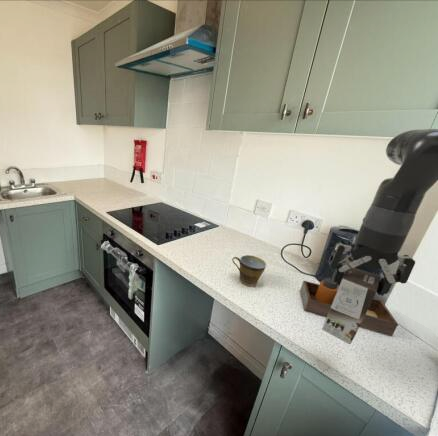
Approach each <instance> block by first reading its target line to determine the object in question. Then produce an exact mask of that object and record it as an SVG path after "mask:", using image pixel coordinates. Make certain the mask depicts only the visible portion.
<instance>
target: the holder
mask: <svg viewBox="0 0 438 436" xmlns="http://www.w3.org/2000/svg"><path fill="white" fill-rule="evenodd" d="M319 284H320V283H319ZM319 284H318V283H316V282H311V281H307V280H303V281H302V284H301V287H300V290H299V293H300V297H301V302H302V307H303V311H304V312H306V313H309V314H313V315H316V316H319V317H323V318H325V319H326V318H327V315H328V313H329V310H330V308H331V305H330V304H327V303H323V302H319V301H316V300H314V297H315V295H316V292H317V290H318V287H319ZM398 326H399V324H398V322H397V320H396V319H395V317H394V316H393V314H392V313H391V312H390V310H389V309H388V307H387V306H386V305H385V303H384V301H383V300H381V299H378V298H373V300H372V302H371V304H370V306H369V308H368V310H367V312H366V315H365V317H364V319H363V321H362V323H361V325H360V327H359V328H361V329H364V330H367V331H371V332H375V333H377V334H381V335H385V336H388V337H393V335H394V333H395V331H396V330H397V328H398Z"/></svg>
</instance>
